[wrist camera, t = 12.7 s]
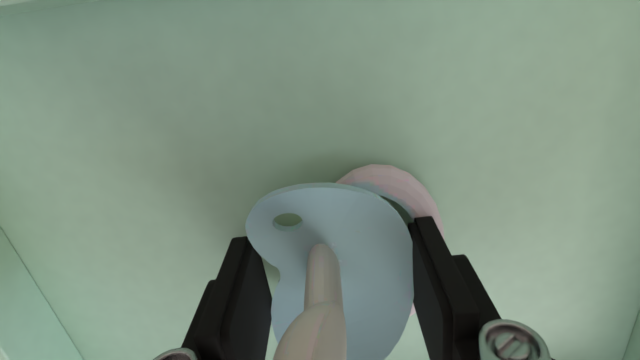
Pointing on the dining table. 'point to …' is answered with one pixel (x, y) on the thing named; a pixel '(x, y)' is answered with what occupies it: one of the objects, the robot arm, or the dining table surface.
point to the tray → (312, 155)
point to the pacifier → (341, 263)
